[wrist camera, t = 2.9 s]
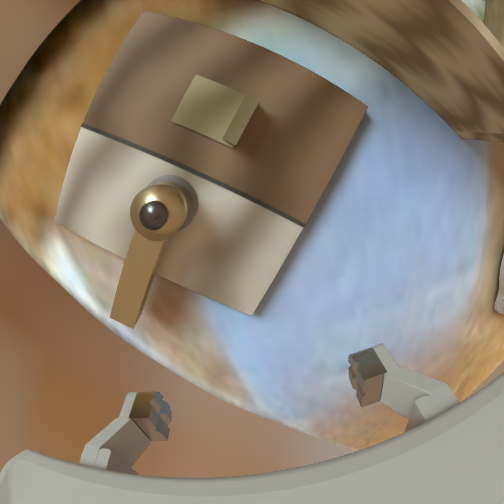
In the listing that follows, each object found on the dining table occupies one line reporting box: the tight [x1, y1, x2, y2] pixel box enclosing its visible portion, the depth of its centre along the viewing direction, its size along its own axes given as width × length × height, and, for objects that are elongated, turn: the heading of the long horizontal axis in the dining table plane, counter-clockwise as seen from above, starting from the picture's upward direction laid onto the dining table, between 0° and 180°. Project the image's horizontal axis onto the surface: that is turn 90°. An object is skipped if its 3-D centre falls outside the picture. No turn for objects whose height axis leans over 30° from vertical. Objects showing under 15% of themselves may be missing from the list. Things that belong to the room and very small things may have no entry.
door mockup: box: [55, 11, 368, 316], centre depth 18 cm, size 20×20×3 cm
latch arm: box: [110, 181, 191, 329], centre depth 19 cm, size 12×4×4 cm, turn 153°
